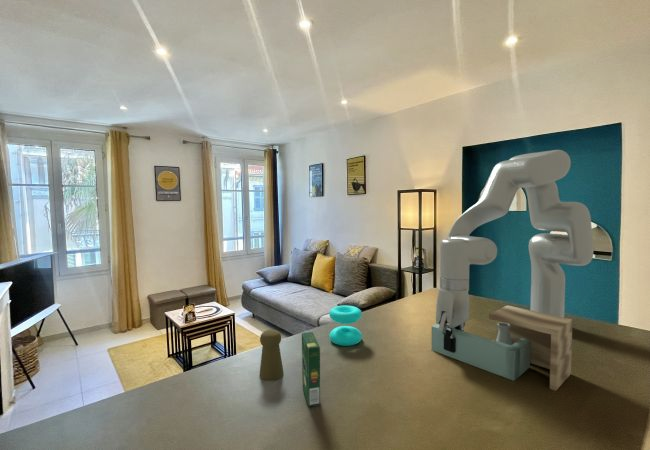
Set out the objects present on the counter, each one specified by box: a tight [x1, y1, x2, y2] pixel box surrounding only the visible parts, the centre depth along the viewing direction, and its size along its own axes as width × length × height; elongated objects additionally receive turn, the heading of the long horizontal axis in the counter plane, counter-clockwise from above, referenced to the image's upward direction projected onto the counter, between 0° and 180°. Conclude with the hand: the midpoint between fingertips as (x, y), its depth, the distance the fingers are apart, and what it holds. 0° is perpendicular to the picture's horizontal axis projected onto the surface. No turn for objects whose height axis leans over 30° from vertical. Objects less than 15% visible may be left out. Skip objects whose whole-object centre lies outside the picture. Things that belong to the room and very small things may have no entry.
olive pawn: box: [258, 329, 284, 382], centre depth 81 cm, size 6×6×11 cm
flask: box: [495, 321, 512, 345], centre depth 86 cm, size 7×7×10 cm
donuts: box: [329, 304, 363, 347], centre depth 101 cm, size 10×10×10 cm
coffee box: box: [301, 331, 321, 408], centre depth 71 cm, size 8×3×13 cm, turn 13°
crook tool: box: [431, 323, 531, 382], centre depth 88 cm, size 10×22×7 cm, turn 40°
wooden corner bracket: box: [488, 304, 573, 392], centre depth 82 cm, size 11×15×14 cm
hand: (453, 348), depth 90 cm, fingers closed on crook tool, 3 cm apart
